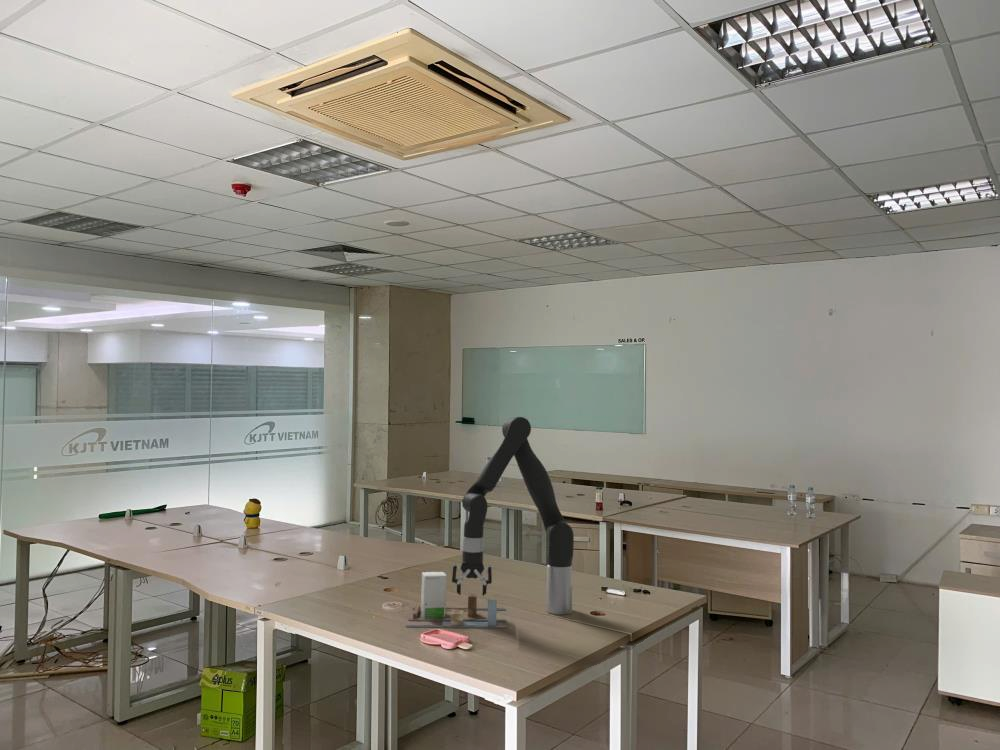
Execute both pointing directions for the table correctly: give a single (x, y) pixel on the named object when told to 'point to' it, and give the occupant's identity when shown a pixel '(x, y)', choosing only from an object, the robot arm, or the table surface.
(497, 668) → the table surface
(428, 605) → the skincare box
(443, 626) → the guide rails
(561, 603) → the robot arm
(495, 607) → the pale blue bent piece
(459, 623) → the beech cube
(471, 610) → the walnut frame
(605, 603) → the table surface
